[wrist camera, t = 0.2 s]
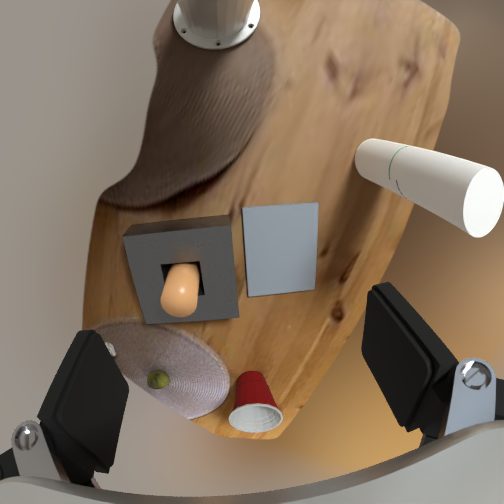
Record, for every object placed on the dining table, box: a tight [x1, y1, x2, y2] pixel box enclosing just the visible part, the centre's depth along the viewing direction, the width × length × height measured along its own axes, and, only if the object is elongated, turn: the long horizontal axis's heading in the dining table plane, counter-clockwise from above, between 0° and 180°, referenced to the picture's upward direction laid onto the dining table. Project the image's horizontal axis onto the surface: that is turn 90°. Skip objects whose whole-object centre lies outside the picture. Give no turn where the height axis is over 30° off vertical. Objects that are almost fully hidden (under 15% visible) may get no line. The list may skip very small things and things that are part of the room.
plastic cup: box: [228, 371, 283, 433], centre depth 56 cm, size 11×11×12 cm
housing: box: [123, 215, 239, 324], centre depth 46 cm, size 16×16×5 cm
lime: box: [147, 370, 170, 389], centre depth 56 cm, size 4×5×5 cm
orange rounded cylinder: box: [161, 261, 201, 317], centre depth 43 cm, size 5×5×11 cm
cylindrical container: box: [355, 139, 504, 237], centre depth 32 cm, size 7×7×25 cm
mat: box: [242, 202, 318, 297], centre depth 48 cm, size 16×12×1 cm
